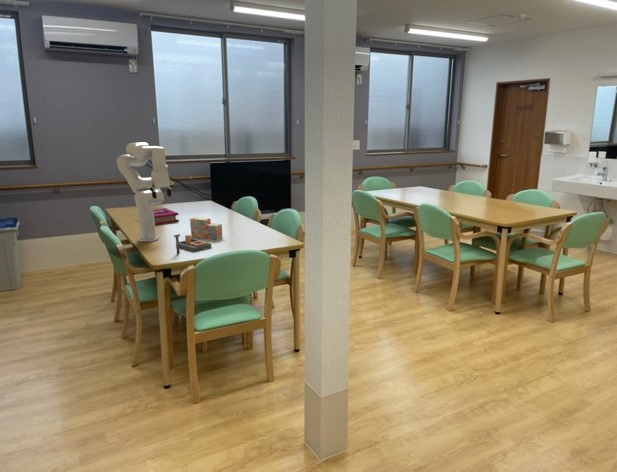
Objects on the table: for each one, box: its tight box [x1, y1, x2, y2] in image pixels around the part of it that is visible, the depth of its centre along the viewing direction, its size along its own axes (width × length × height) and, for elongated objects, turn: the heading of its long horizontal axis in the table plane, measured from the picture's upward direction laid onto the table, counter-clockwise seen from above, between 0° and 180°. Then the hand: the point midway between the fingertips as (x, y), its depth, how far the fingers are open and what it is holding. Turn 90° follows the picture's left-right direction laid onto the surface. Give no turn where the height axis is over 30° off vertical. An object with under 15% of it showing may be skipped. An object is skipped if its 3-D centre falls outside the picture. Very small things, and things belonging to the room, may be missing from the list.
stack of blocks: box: [189, 216, 223, 241], centre depth 305 cm, size 21×6×12 cm, turn 62°
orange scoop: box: [184, 234, 207, 247], centre depth 281 cm, size 15×7×6 cm, turn 49°
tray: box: [179, 238, 212, 252], centre depth 283 cm, size 18×13×2 cm
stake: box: [173, 234, 181, 254], centre depth 268 cm, size 2×3×11 cm, turn 138°
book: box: [152, 207, 180, 226], centre depth 359 cm, size 21×28×8 cm
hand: (162, 197), depth 278 cm, fingers open, 9 cm apart
